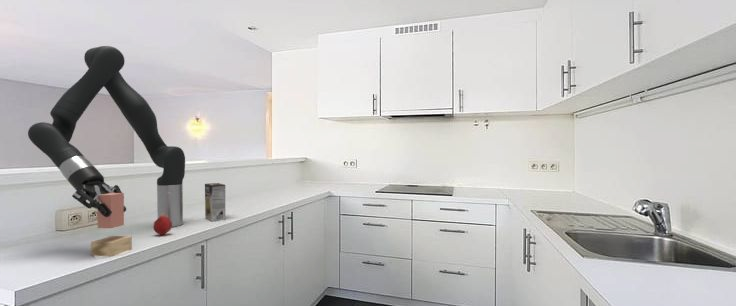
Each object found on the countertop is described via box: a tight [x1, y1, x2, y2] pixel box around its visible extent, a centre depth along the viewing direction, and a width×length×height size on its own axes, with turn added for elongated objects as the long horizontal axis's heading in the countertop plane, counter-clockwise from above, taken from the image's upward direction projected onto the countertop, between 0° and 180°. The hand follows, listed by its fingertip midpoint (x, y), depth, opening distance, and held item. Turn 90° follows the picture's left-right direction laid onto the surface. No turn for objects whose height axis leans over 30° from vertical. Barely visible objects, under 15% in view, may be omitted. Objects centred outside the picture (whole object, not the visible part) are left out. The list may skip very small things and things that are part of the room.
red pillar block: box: [97, 192, 125, 229], centre depth 101 cm, size 4×4×10 cm
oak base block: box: [90, 235, 133, 257], centre depth 101 cm, size 7×7×4 cm
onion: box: [153, 214, 173, 236], centre depth 122 cm, size 6×6×8 cm
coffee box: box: [204, 182, 226, 222], centre depth 150 cm, size 9×6×16 cm
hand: (116, 213), depth 101 cm, fingers closed on red pillar block, 4 cm apart
